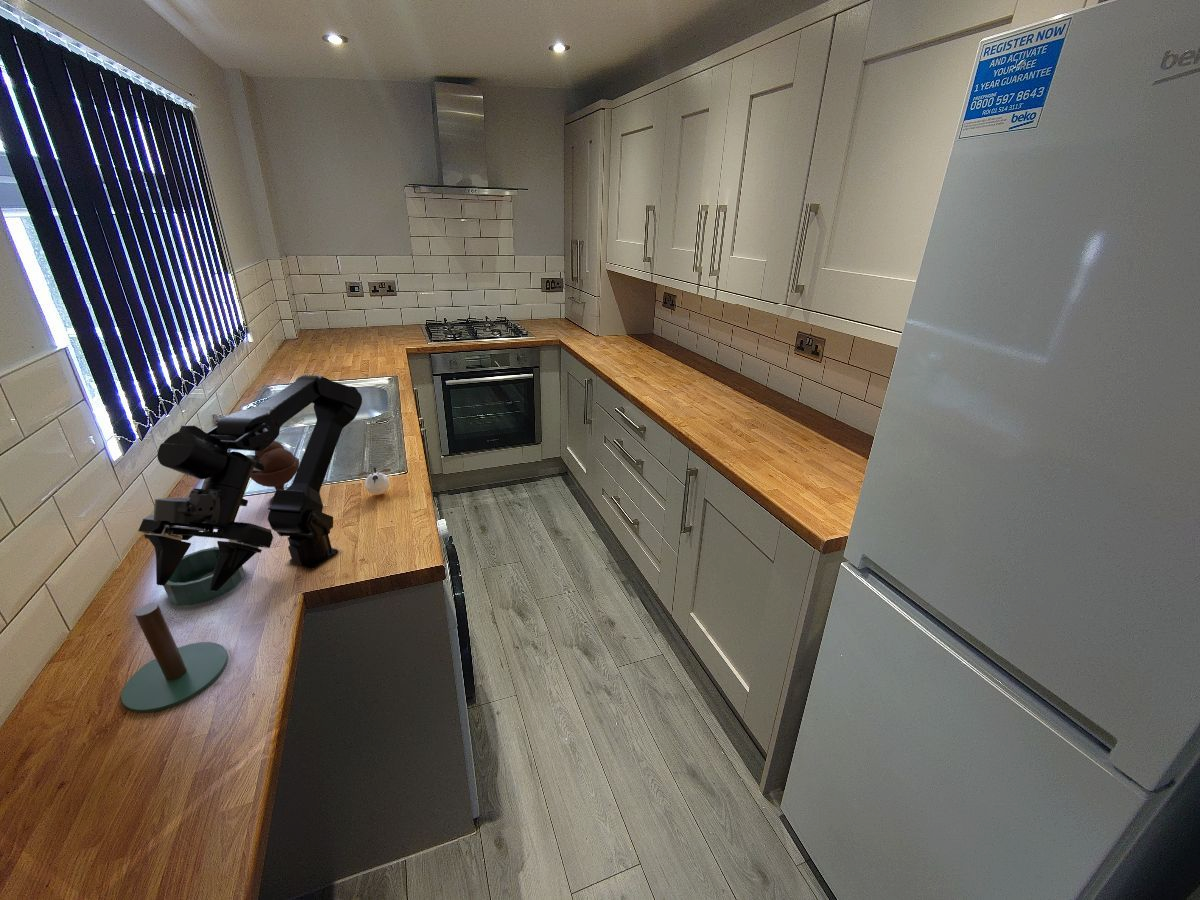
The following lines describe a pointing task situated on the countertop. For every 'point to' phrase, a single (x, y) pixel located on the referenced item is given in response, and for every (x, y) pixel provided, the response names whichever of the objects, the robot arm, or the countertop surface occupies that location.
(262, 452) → the ice cream bowl
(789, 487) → the countertop surface
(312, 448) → the robot arm
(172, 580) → the tin
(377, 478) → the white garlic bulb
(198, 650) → the lid
